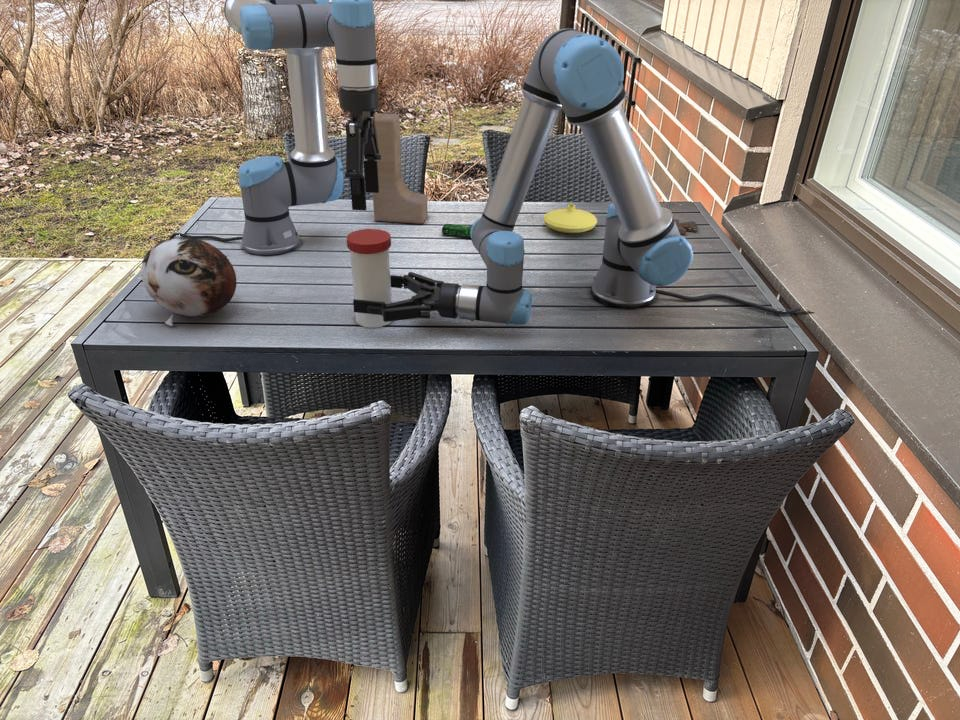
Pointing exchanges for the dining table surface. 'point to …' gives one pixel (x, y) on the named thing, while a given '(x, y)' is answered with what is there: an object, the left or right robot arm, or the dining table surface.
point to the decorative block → (394, 178)
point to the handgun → (457, 230)
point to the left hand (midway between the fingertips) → (366, 200)
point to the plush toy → (188, 277)
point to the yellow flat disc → (570, 220)
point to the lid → (368, 241)
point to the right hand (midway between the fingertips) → (364, 292)
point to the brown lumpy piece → (686, 226)
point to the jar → (371, 283)
